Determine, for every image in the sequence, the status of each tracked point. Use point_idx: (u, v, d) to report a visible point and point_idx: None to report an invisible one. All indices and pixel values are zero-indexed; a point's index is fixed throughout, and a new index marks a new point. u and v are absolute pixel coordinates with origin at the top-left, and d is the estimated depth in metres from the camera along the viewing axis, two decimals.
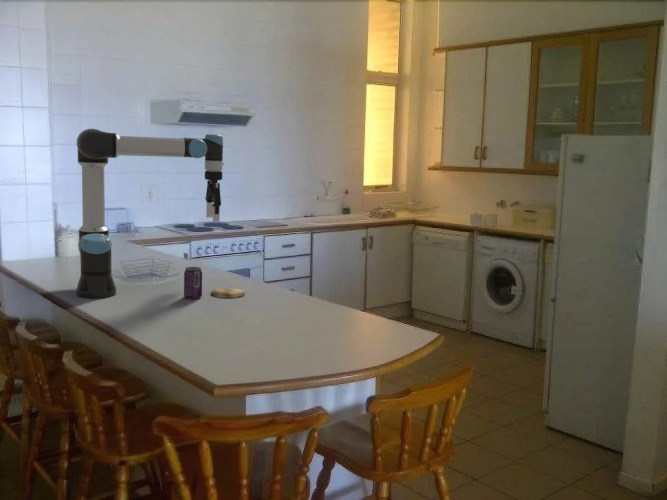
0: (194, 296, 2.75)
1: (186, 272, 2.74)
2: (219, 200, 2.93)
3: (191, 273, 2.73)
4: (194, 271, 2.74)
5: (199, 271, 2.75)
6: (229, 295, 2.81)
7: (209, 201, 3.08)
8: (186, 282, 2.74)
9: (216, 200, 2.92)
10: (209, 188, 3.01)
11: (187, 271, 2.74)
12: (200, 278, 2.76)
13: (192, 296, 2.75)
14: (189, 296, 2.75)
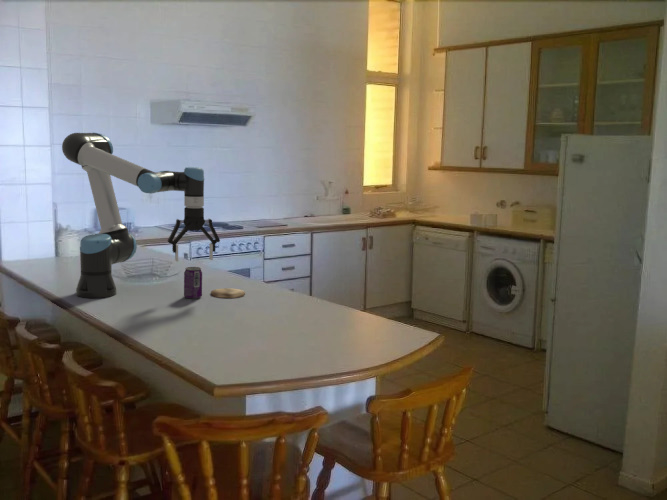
0: (194, 296, 2.75)
1: (186, 272, 2.74)
2: (170, 237, 2.70)
3: (191, 273, 2.73)
4: (194, 271, 2.74)
5: (199, 271, 2.75)
6: (229, 295, 2.81)
7: None
8: (186, 282, 2.74)
9: (169, 237, 2.71)
10: None
11: (187, 271, 2.74)
12: (200, 278, 2.76)
13: (192, 296, 2.75)
14: (189, 296, 2.75)
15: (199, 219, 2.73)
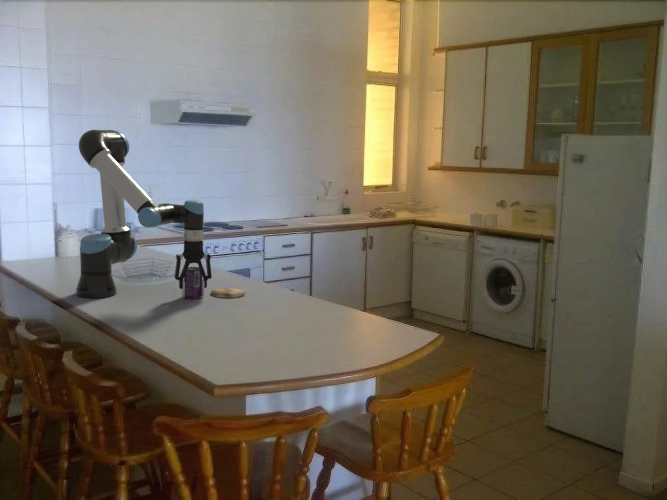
0: (194, 296, 2.75)
1: (186, 272, 2.74)
2: (175, 274, 2.73)
3: (191, 273, 2.73)
4: (194, 271, 2.74)
5: (199, 271, 2.75)
6: (229, 295, 2.81)
7: (203, 278, 2.79)
8: (186, 282, 2.74)
9: (175, 273, 2.75)
10: None
11: (187, 271, 2.74)
12: (200, 278, 2.76)
13: (192, 296, 2.75)
14: (189, 296, 2.75)
15: (199, 251, 2.75)
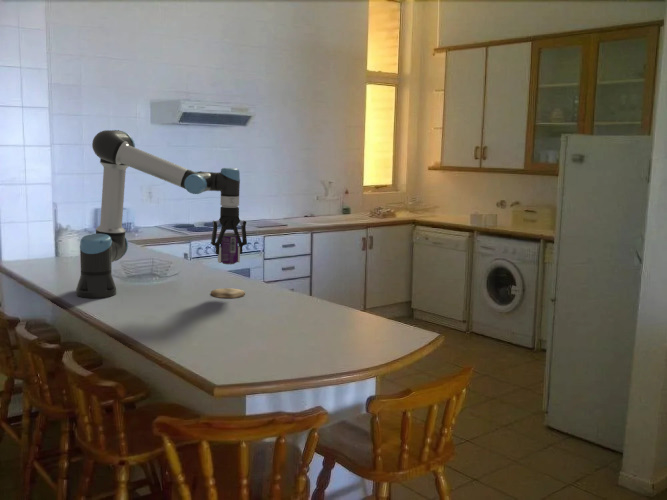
0: (230, 262, 2.81)
1: (222, 238, 2.80)
2: (212, 240, 2.80)
3: (228, 239, 2.79)
4: (231, 237, 2.80)
5: (235, 237, 2.81)
6: (229, 295, 2.81)
7: (239, 244, 2.85)
8: (222, 248, 2.80)
9: (211, 239, 2.81)
10: None
11: (223, 237, 2.80)
12: (236, 244, 2.82)
13: (228, 261, 2.81)
14: (225, 261, 2.81)
15: (235, 217, 2.81)
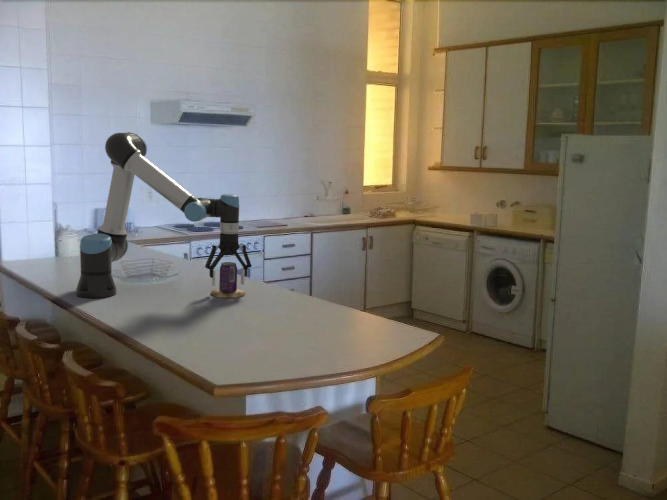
0: (230, 291, 2.83)
1: (222, 267, 2.82)
2: (207, 263, 2.80)
3: (227, 268, 2.81)
4: (230, 266, 2.82)
5: (234, 266, 2.83)
6: (229, 295, 2.81)
7: (243, 267, 2.87)
8: (222, 277, 2.83)
9: (206, 262, 2.82)
10: None
11: (223, 266, 2.82)
12: (235, 273, 2.84)
13: (228, 290, 2.83)
14: (225, 290, 2.83)
15: (234, 244, 2.83)
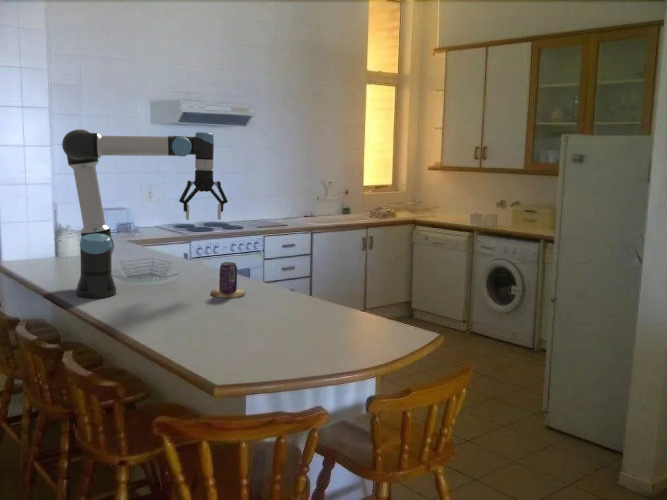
0: (230, 291, 2.83)
1: (222, 267, 2.82)
2: (181, 197, 2.90)
3: (227, 268, 2.81)
4: (230, 266, 2.82)
5: (234, 266, 2.83)
6: (229, 295, 2.81)
7: (220, 203, 2.97)
8: (222, 277, 2.83)
9: (181, 197, 2.91)
10: None
11: (223, 266, 2.82)
12: (235, 273, 2.84)
13: (227, 290, 2.83)
14: (225, 290, 2.83)
15: (209, 181, 2.92)
